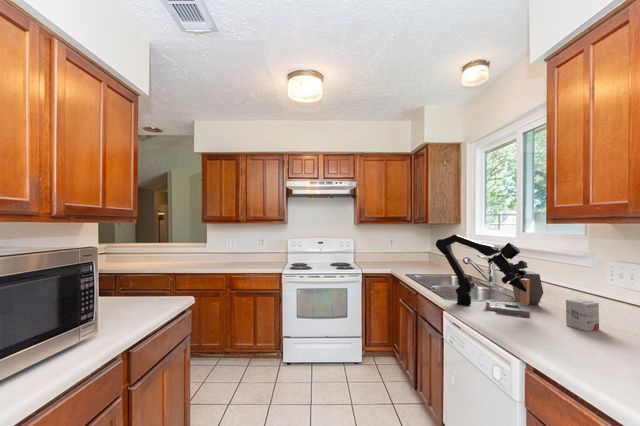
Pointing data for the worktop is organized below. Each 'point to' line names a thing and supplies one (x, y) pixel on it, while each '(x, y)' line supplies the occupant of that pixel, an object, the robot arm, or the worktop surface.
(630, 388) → the worktop surface
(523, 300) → the wedge pin
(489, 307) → the bracket
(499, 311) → the grey square frame
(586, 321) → the ink box
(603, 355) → the worktop surface
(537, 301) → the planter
